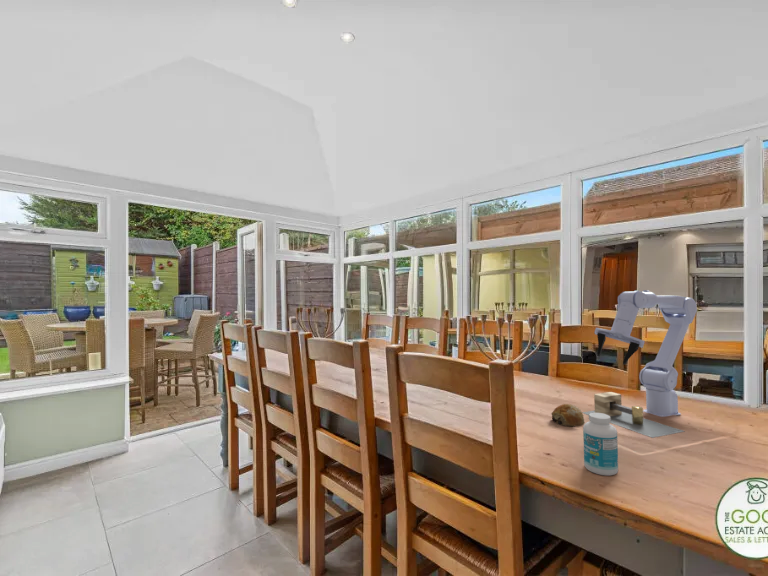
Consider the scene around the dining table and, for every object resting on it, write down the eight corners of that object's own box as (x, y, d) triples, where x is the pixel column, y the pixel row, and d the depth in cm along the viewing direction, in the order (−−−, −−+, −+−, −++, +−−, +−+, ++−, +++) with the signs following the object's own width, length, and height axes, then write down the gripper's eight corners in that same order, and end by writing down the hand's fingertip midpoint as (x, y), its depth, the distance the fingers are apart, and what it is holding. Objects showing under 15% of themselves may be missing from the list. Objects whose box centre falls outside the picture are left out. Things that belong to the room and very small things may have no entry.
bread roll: (583, 439, 124) (594, 417, 123) (552, 424, 125) (562, 402, 125) (574, 428, 133) (584, 408, 133) (545, 415, 135) (555, 394, 135)
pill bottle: (577, 464, 98) (576, 411, 98) (605, 462, 99) (603, 410, 99) (596, 478, 91) (594, 420, 91) (625, 476, 91) (624, 419, 91)
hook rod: (601, 409, 139) (601, 395, 139) (645, 423, 124) (644, 408, 124) (595, 410, 138) (595, 396, 138) (638, 424, 123) (638, 409, 123)
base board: (610, 409, 142) (610, 407, 142) (685, 433, 117) (685, 431, 117) (581, 414, 137) (581, 412, 137) (652, 439, 113) (652, 437, 113)
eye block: (611, 411, 138) (611, 391, 138) (621, 414, 134) (621, 394, 134) (594, 413, 135) (594, 394, 136) (604, 417, 132) (603, 396, 132)
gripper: (599, 313, 131) (586, 348, 128) (649, 325, 123) (636, 364, 120) (600, 320, 137) (588, 354, 134) (648, 332, 128) (635, 369, 125)
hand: (611, 359), depth 127 cm, fingers open, 7 cm apart
